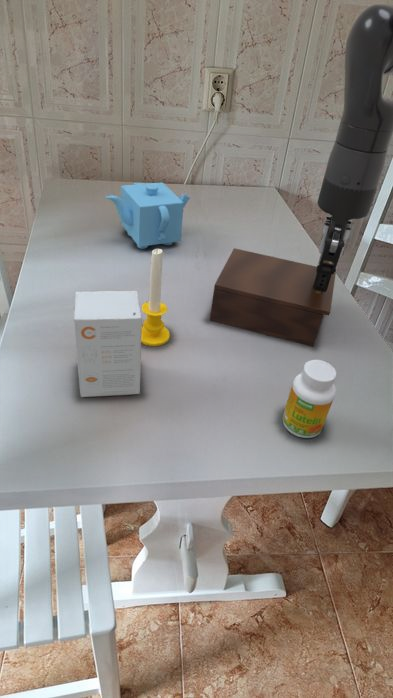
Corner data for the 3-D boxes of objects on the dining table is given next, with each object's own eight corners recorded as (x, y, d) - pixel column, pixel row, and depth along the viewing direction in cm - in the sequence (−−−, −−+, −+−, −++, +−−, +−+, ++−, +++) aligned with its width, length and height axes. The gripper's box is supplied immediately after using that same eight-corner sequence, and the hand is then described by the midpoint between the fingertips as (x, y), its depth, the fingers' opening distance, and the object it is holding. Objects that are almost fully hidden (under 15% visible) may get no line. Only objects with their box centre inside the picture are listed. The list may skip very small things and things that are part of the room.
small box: (136, 364, 72) (138, 289, 63) (140, 395, 67) (142, 318, 59) (80, 366, 70) (74, 290, 62) (79, 398, 65) (73, 319, 57)
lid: (334, 274, 85) (343, 246, 82) (328, 316, 75) (338, 286, 72) (233, 251, 88) (237, 224, 85) (214, 288, 78) (218, 258, 75)
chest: (320, 304, 89) (330, 274, 85) (313, 347, 79) (323, 315, 75) (228, 282, 92) (233, 252, 88) (209, 320, 82) (213, 289, 78)
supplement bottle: (281, 434, 64) (298, 380, 58) (282, 406, 68) (298, 352, 62) (322, 442, 63) (343, 388, 57) (321, 413, 68) (340, 360, 61)
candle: (139, 347, 75) (142, 257, 65) (133, 327, 78) (135, 239, 69) (172, 344, 76) (180, 255, 66) (165, 324, 80) (171, 237, 70)
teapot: (201, 249, 101) (207, 197, 94) (118, 262, 94) (118, 206, 87) (170, 217, 112) (174, 168, 105) (93, 226, 105) (91, 174, 98)
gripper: (378, 201, 63) (341, 310, 73) (378, 167, 74) (346, 266, 84) (320, 189, 64) (292, 298, 75) (328, 158, 75) (303, 257, 85)
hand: (321, 281), depth 79 cm, fingers closed on lid, 5 cm apart
